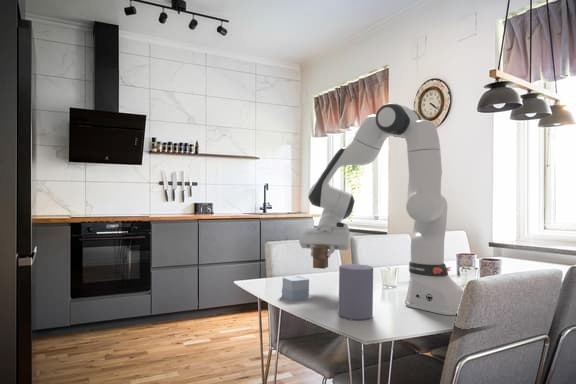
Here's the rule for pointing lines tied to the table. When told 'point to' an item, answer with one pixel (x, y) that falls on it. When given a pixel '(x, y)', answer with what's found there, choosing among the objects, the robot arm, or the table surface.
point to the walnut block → (320, 257)
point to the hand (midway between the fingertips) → (320, 256)
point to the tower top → (295, 283)
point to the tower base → (295, 294)
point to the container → (355, 291)
